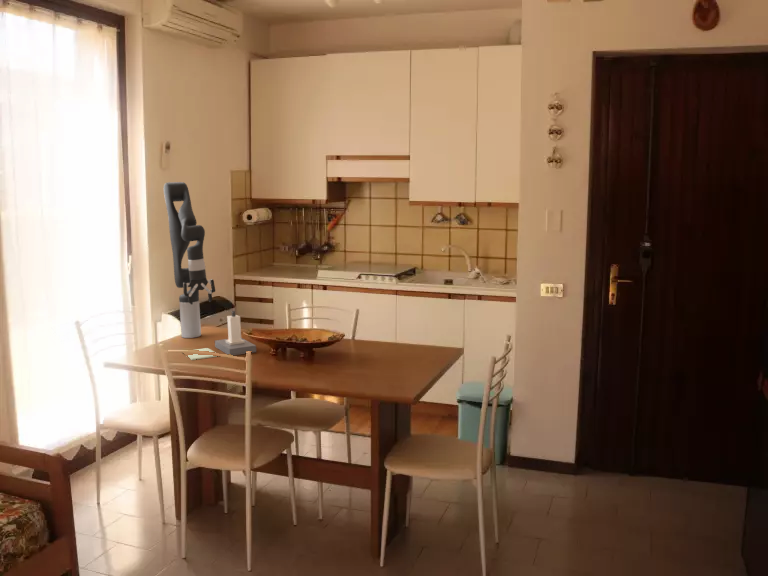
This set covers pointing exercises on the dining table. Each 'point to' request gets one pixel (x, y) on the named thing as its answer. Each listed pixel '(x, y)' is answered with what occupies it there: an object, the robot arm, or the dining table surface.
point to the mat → (196, 356)
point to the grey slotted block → (235, 347)
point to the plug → (234, 330)
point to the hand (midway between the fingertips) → (200, 302)
